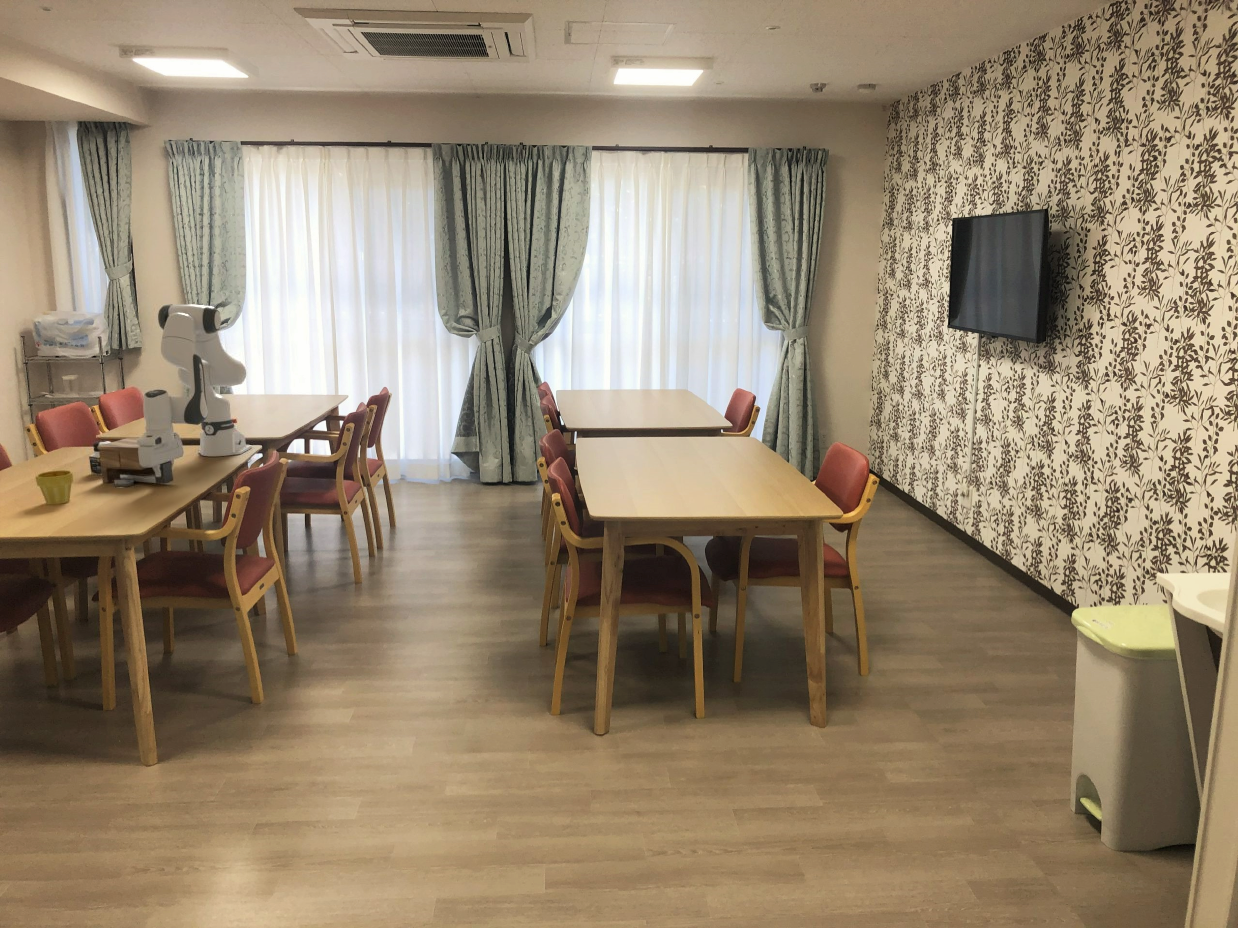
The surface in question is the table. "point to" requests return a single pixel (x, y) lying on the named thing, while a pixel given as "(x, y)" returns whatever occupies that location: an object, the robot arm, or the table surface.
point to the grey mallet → (153, 475)
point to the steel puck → (124, 482)
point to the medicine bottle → (96, 458)
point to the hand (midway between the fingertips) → (164, 474)
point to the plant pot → (55, 486)
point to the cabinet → (120, 459)
